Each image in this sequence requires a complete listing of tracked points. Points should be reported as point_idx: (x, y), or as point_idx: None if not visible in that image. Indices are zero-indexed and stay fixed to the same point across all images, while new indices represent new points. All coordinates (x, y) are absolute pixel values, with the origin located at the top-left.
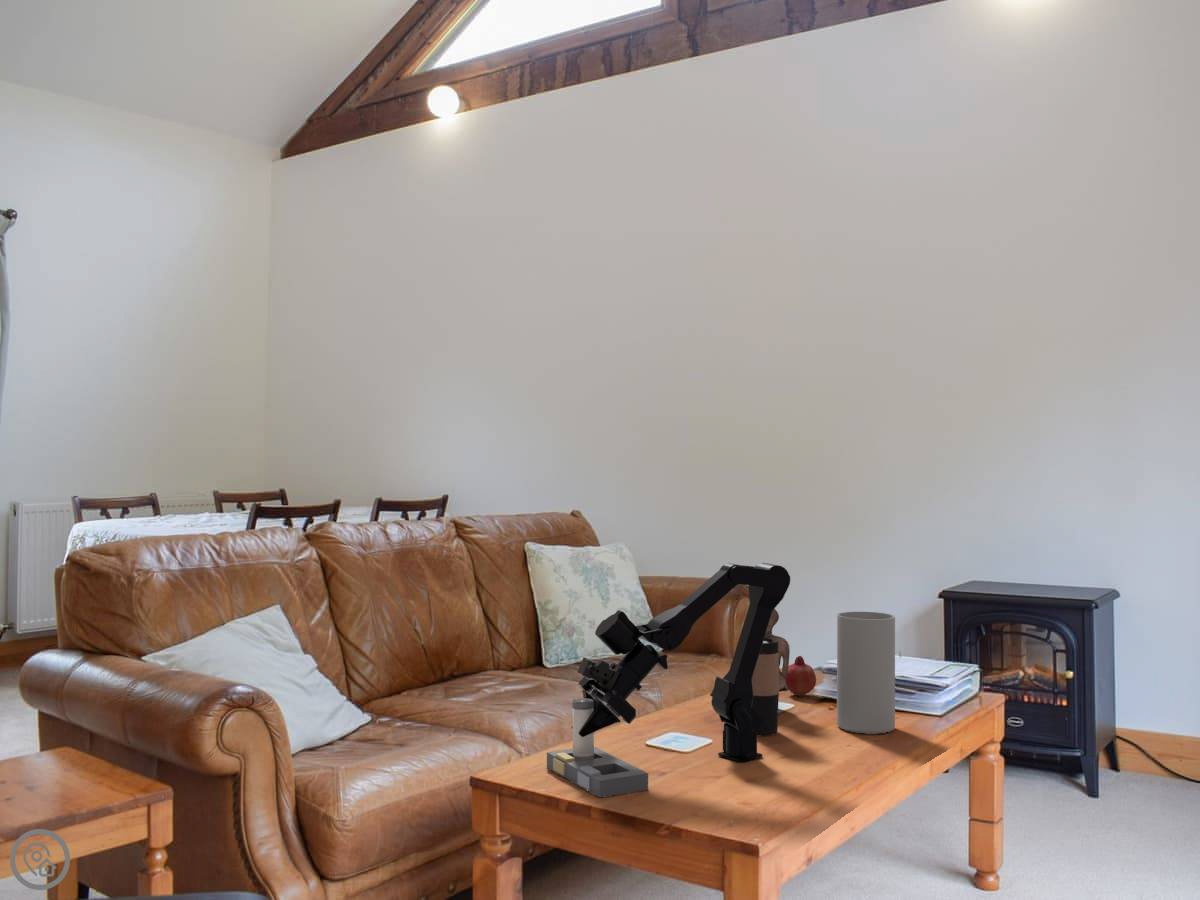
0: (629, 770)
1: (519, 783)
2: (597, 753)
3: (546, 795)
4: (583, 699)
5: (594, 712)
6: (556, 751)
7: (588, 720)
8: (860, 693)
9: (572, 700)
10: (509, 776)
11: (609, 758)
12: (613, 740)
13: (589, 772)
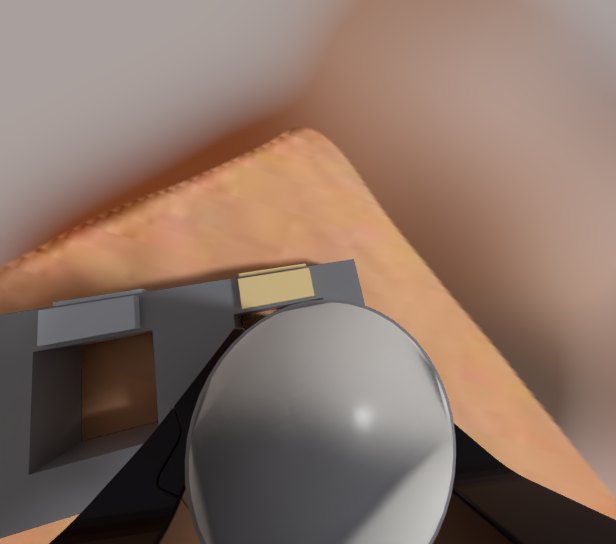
0: (35, 474)
1: (244, 180)
2: None
3: (129, 205)
4: (398, 463)
5: (128, 487)
6: (353, 286)
7: (191, 396)
8: None
9: (383, 315)
10: (301, 178)
11: None
12: None
13: (57, 308)
